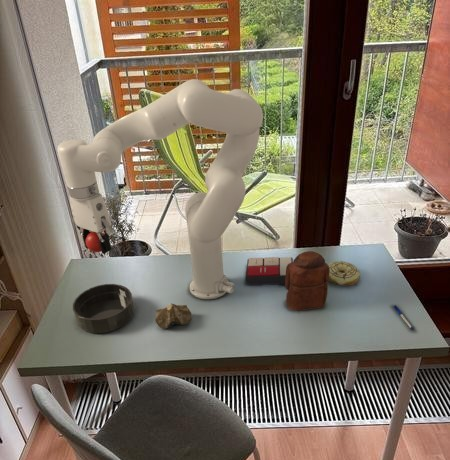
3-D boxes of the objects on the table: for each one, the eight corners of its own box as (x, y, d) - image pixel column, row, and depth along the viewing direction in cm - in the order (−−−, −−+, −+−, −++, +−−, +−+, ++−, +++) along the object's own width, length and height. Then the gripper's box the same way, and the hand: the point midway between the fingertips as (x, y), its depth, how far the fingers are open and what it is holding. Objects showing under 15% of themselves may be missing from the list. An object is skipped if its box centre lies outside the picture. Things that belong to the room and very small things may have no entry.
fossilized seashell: (193, 305, 128) (161, 309, 130) (186, 297, 122) (152, 301, 124) (193, 330, 125) (160, 333, 127) (185, 323, 119) (151, 327, 121)
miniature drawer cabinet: (247, 256, 146) (292, 255, 144) (248, 267, 148) (292, 266, 146) (245, 275, 137) (293, 273, 135) (246, 286, 139) (293, 285, 137)
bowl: (146, 307, 132) (143, 293, 129) (107, 341, 120) (103, 327, 117) (105, 292, 140) (102, 278, 136) (65, 323, 128) (60, 308, 125)
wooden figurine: (320, 295, 132) (325, 245, 122) (327, 308, 127) (333, 257, 117) (282, 300, 131) (284, 249, 121) (287, 313, 126) (290, 261, 116)
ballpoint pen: (392, 307, 126) (393, 304, 126) (395, 306, 127) (395, 304, 126) (411, 330, 118) (412, 328, 117) (414, 330, 118) (415, 327, 118)
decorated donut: (342, 292, 133) (343, 282, 131) (317, 276, 141) (318, 266, 138) (365, 279, 138) (367, 269, 136) (340, 265, 145) (341, 255, 143)
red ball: (114, 248, 125) (109, 230, 121) (98, 258, 121) (93, 239, 117) (99, 243, 128) (94, 225, 124) (83, 252, 124) (78, 234, 120)
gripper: (117, 190, 112) (129, 250, 122) (72, 178, 120) (87, 236, 130) (96, 201, 107) (110, 263, 117) (50, 188, 115) (68, 247, 125)
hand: (98, 248), depth 124 cm, fingers closed on red ball, 6 cm apart
